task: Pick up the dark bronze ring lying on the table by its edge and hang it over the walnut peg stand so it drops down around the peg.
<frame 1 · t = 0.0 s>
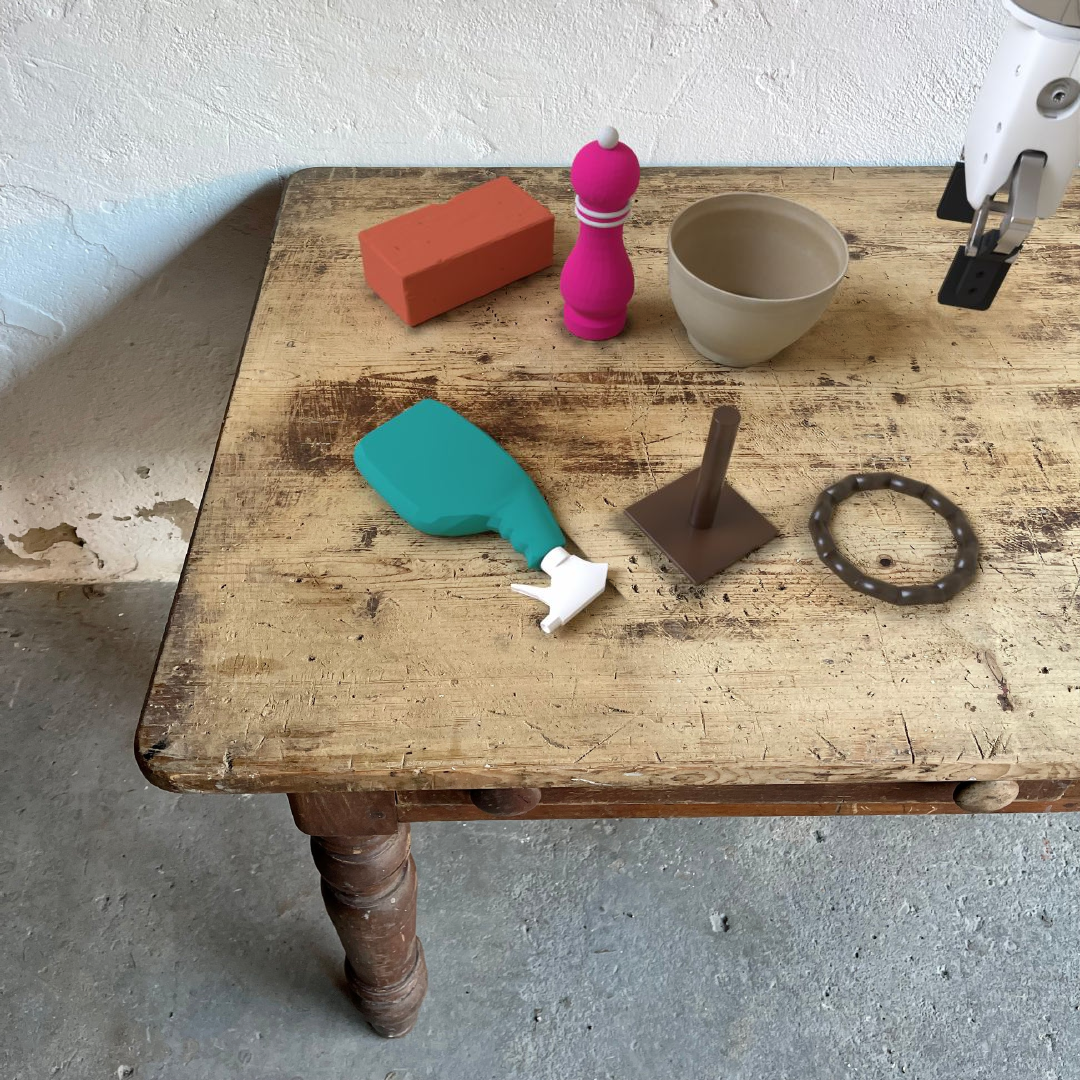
hand: (959, 260, 60), 22 cm above the table, tool pointing down, fingers open, 9 cm apart
spray bottle: (484, 520, 74), on the table
brick: (461, 275, 94), on the table
stand: (698, 528, 74), on the table
ring: (892, 536, 72), point 1 cm above the table
pepper mill: (594, 322, 90), on the table
planter bowl: (735, 339, 88), on the table
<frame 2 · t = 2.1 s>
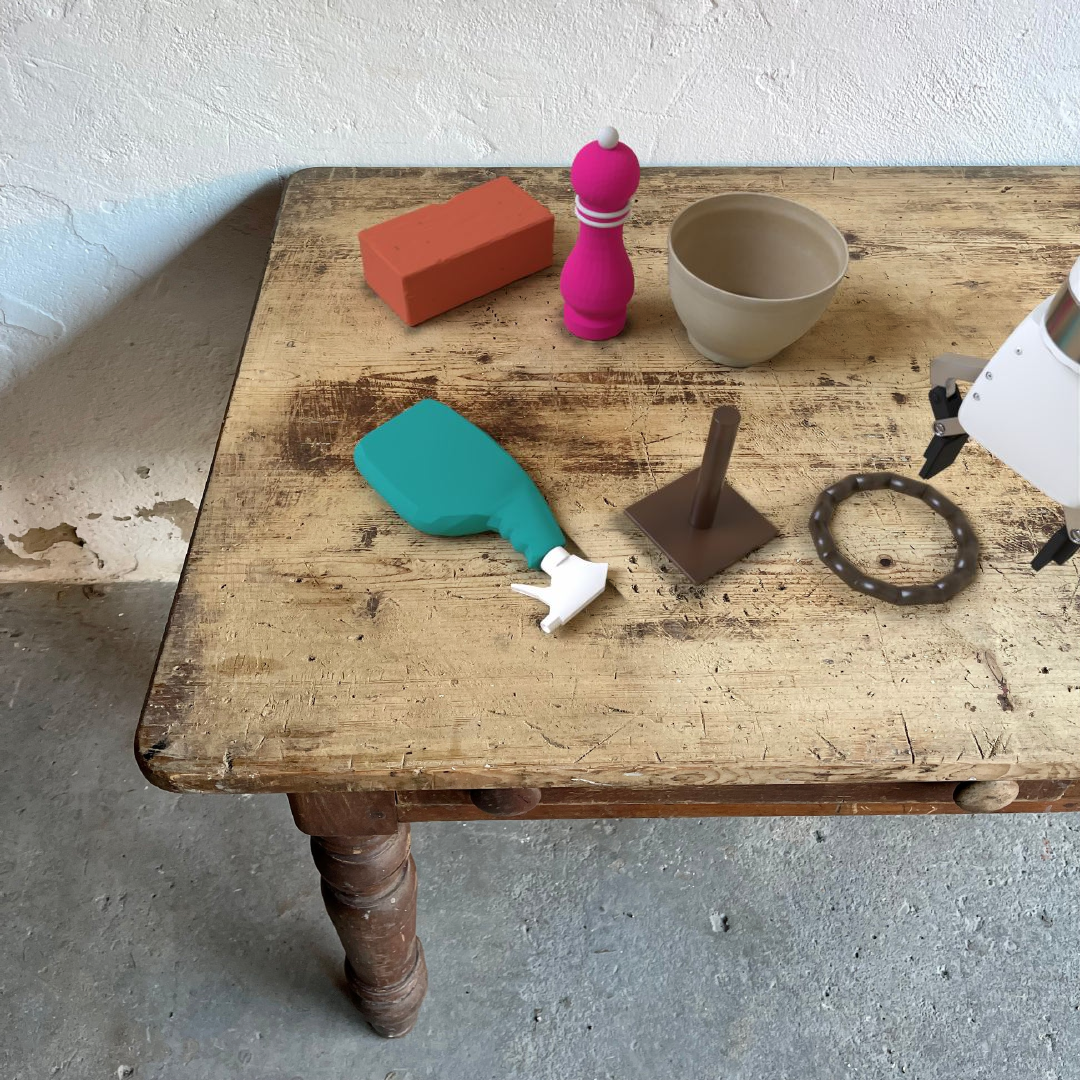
hand: (988, 513, 63), 9 cm above the table, tool pointing down, fingers open, 9 cm apart
nothing on the table moved.
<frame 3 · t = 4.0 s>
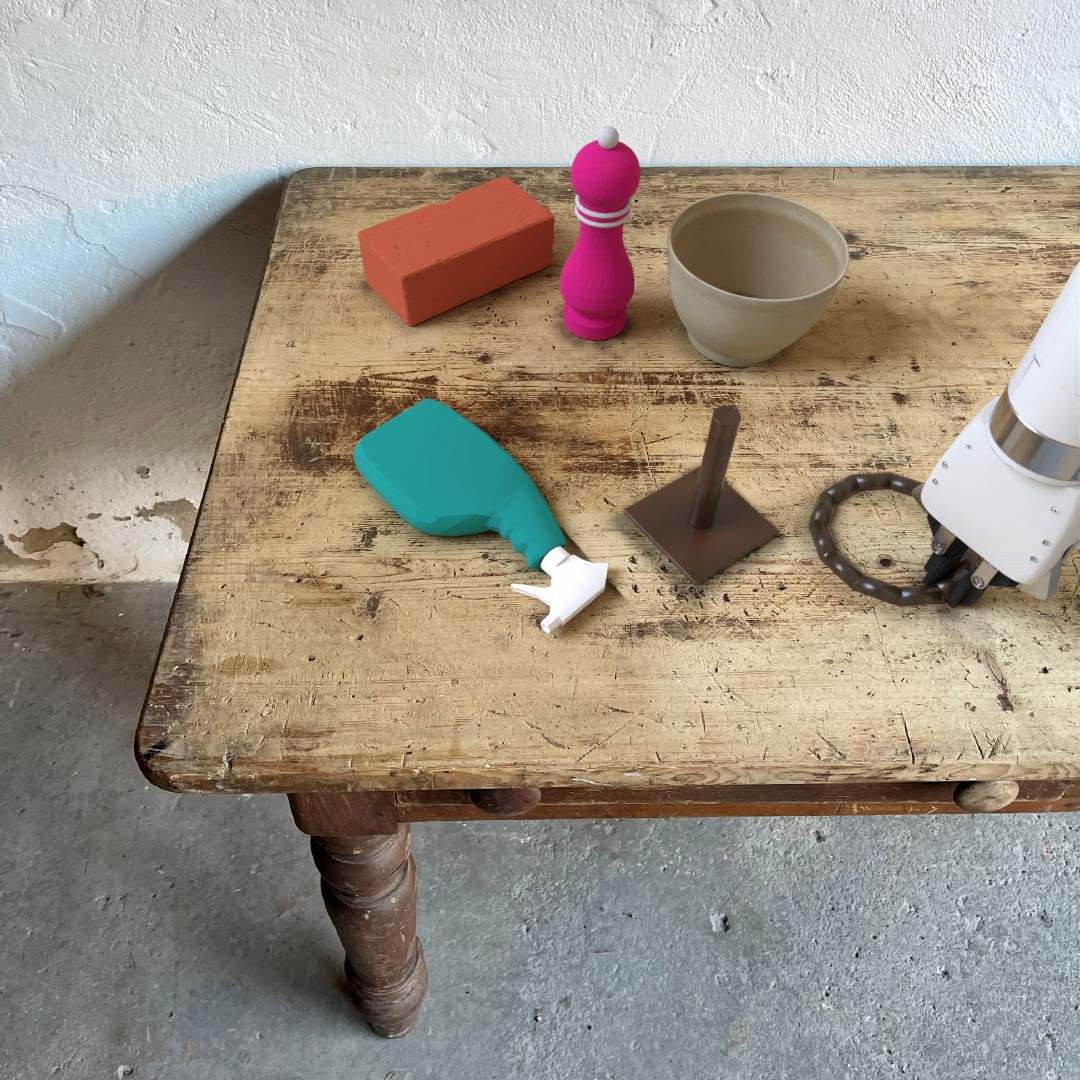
hand: (946, 589, 70), 0 cm above the table, tool pointing down, fingers closed on ring, 1 cm apart
ring: (893, 536, 72), point 1 cm above the table, touching gripper
everything else where it was.
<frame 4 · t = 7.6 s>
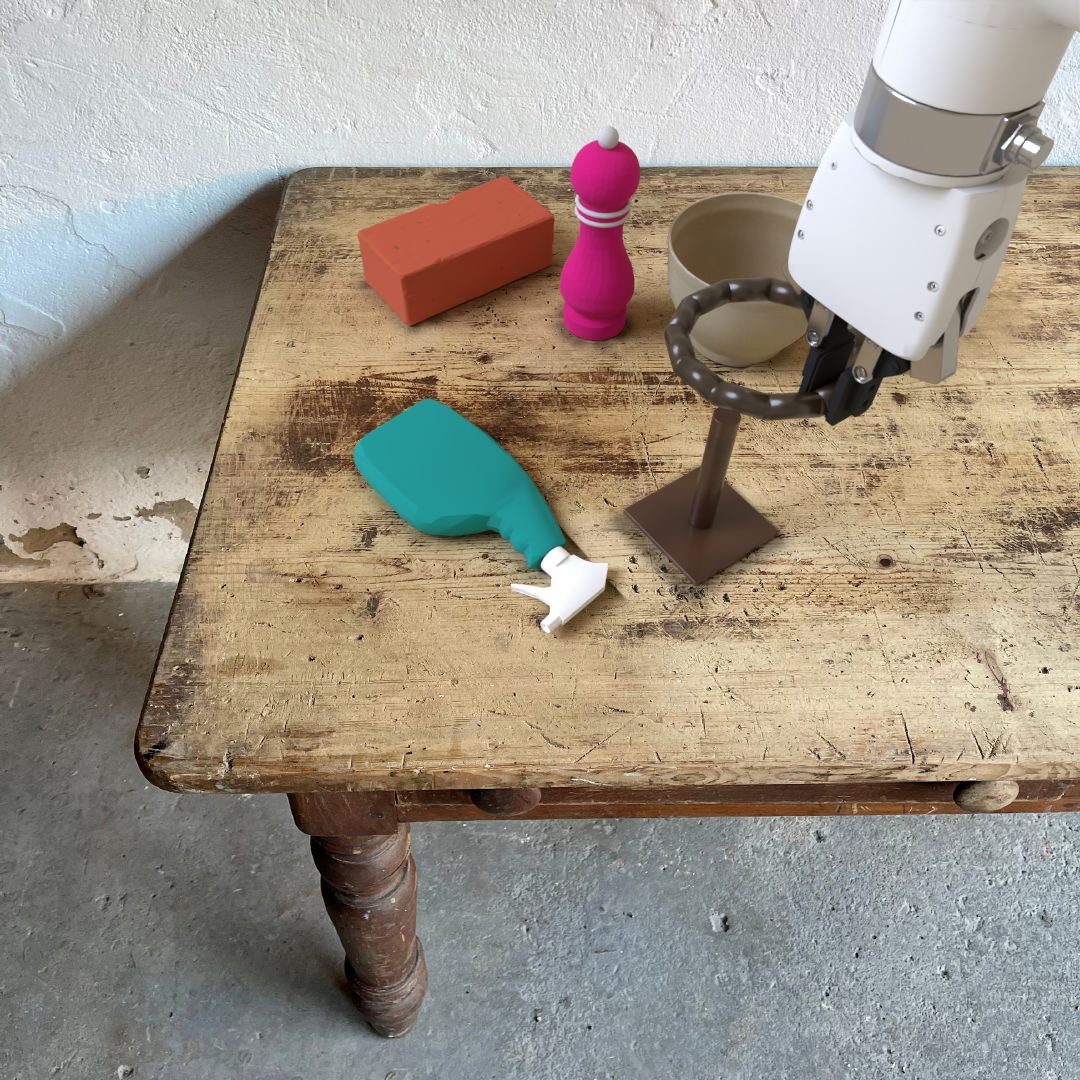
hand: (831, 401, 56), 19 cm above the table, tool pointing down, fingers closed on ring
ring: (768, 344, 58), point 20 cm above the table, touching gripper
everything else where it was.
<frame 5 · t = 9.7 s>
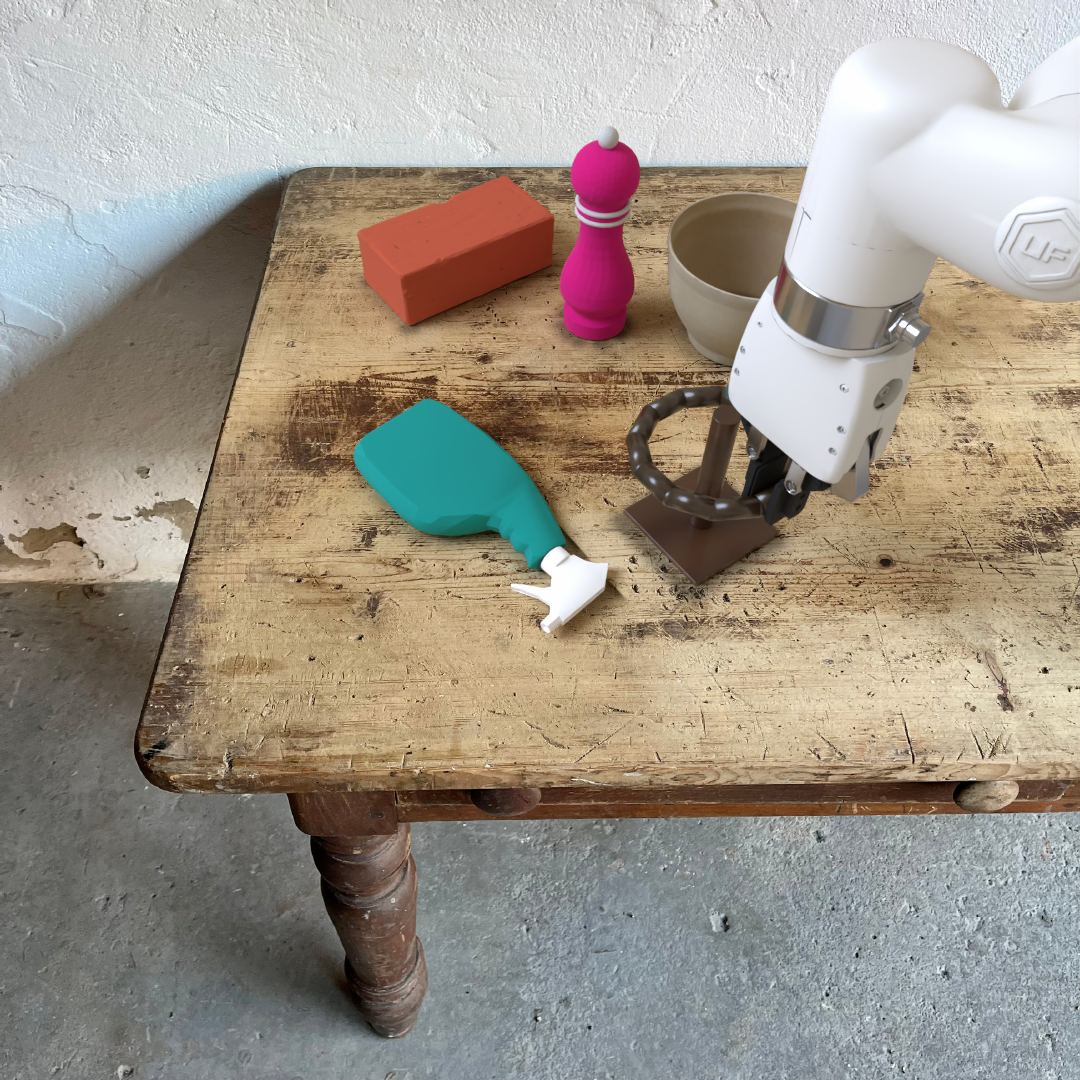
hand: (770, 502, 64), 9 cm above the table, tool pointing down, fingers closed on ring
ring: (717, 449, 66), point 10 cm above the table, touching gripper
everything else where it was.
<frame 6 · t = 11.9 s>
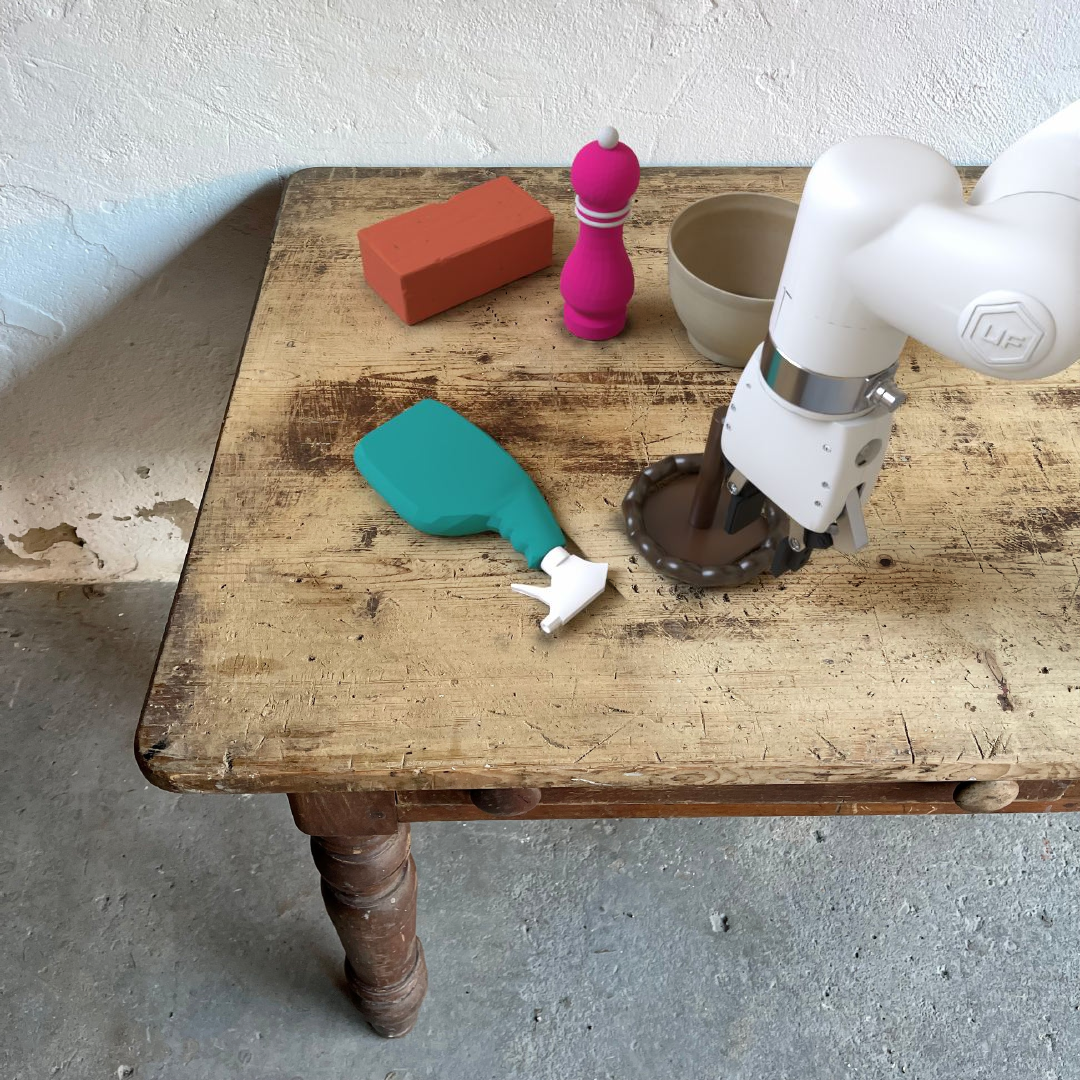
hand: (764, 543, 67), 5 cm above the table, tool pointing down, fingers open, 4 cm apart
ring: (704, 516, 72), point 2 cm above the table, touching stand
everything else where it was.
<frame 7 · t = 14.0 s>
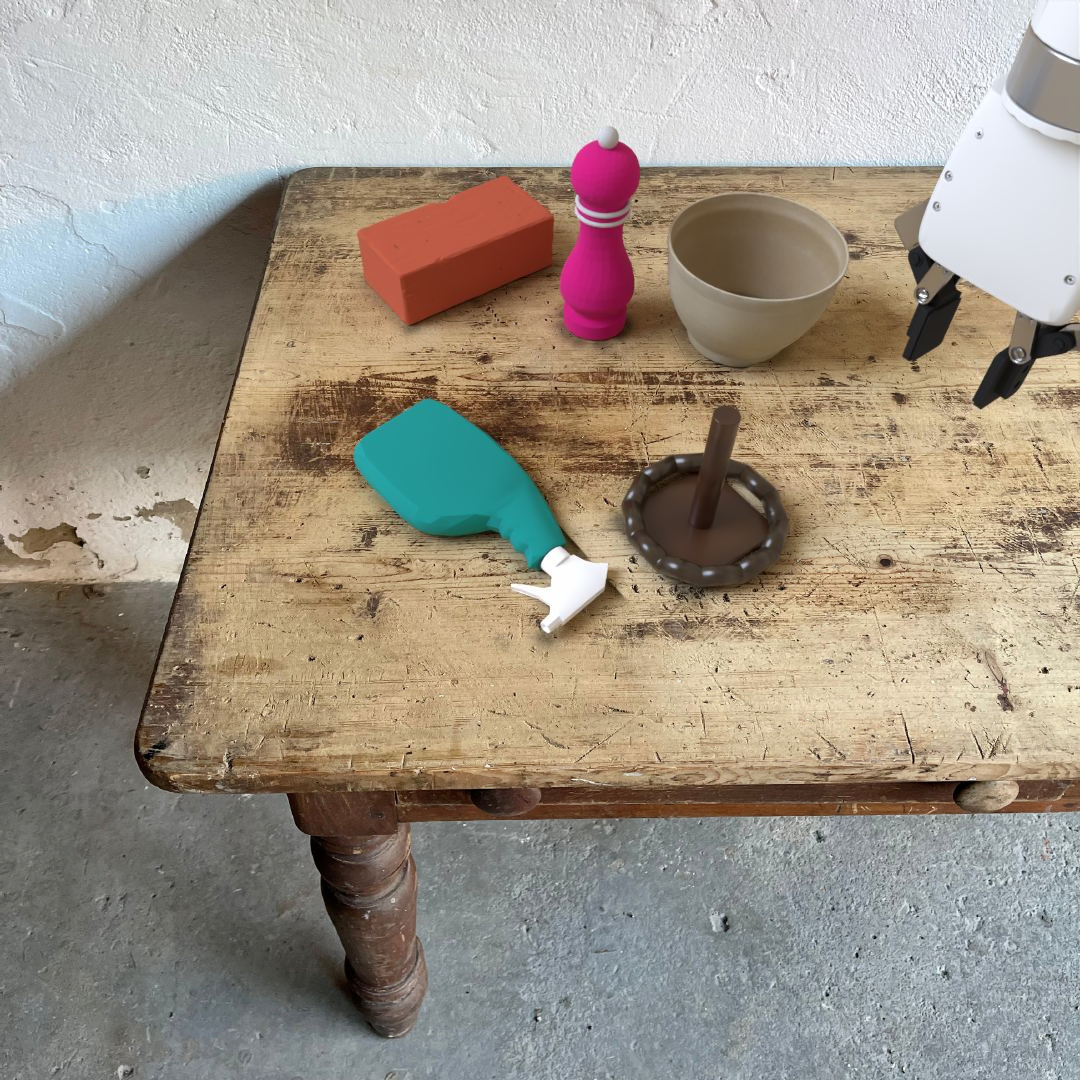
hand: (955, 371, 56), 20 cm above the table, tool pointing down, fingers open, 4 cm apart
nothing on the table moved.
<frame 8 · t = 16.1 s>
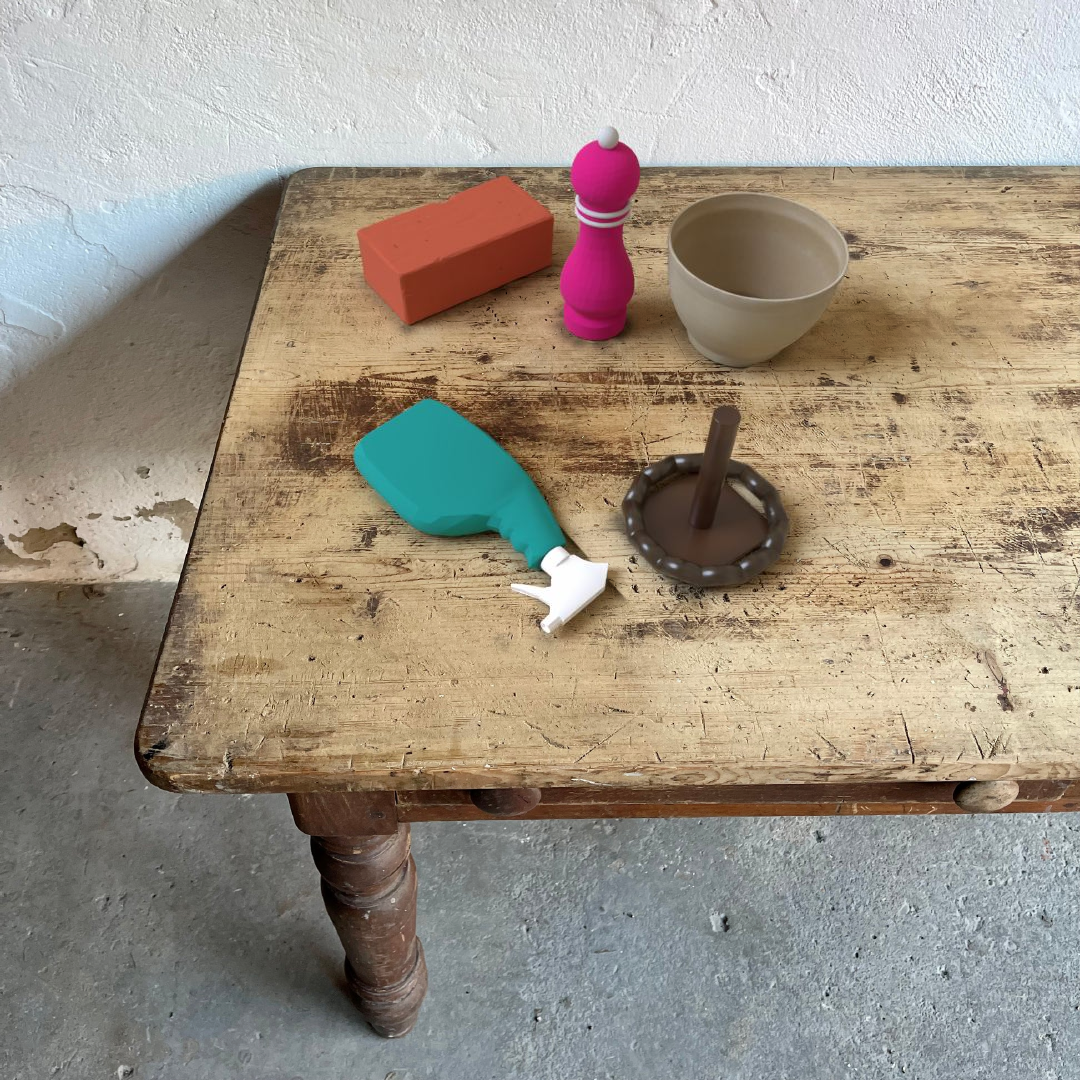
nothing on the table moved.
at the end: ring 0.3 cm from the stand (horizontally); ring point 2.0 cm above the table; the gripper is holding nothing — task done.
